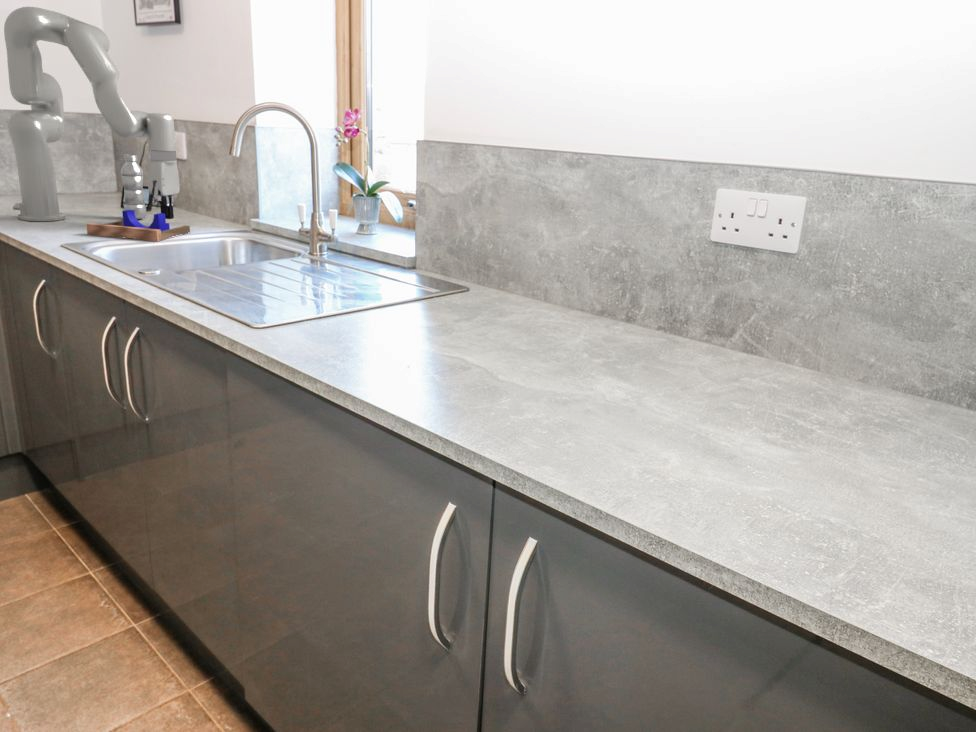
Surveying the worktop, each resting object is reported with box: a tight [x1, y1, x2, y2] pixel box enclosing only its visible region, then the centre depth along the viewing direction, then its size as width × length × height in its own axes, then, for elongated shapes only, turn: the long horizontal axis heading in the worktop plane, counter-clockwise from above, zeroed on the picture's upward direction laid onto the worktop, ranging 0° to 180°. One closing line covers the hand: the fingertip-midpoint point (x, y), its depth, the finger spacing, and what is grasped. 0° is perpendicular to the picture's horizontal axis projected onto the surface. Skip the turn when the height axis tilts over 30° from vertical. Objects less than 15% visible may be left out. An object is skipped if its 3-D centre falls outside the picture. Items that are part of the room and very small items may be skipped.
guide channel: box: [85, 219, 191, 242], centre depth 214 cm, size 21×17×3 cm
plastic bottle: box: [120, 153, 148, 220], centre depth 235 cm, size 6×7×20 cm
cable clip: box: [121, 209, 170, 231], centre depth 217 cm, size 12×4×6 cm, turn 76°
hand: (167, 218), depth 227 cm, fingers closed
